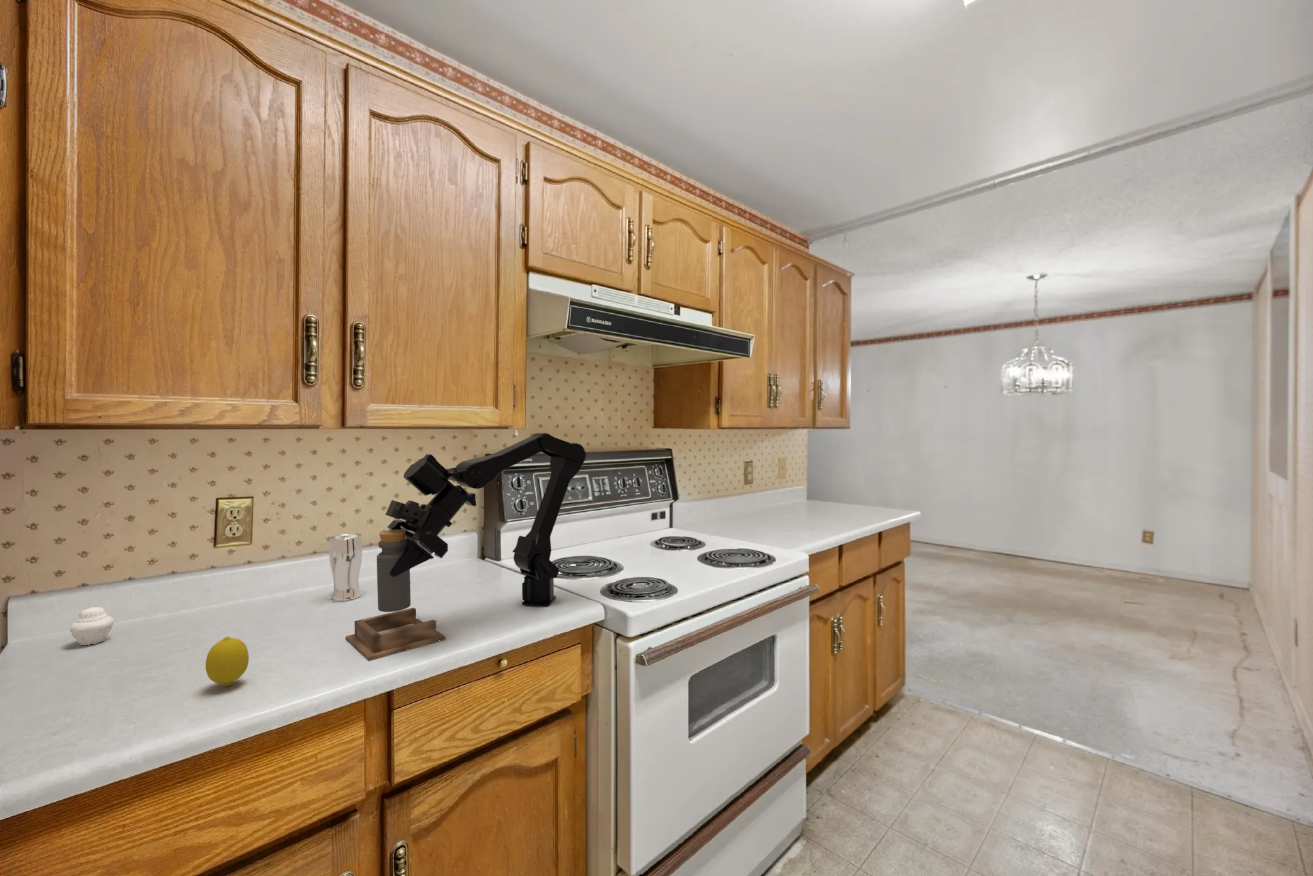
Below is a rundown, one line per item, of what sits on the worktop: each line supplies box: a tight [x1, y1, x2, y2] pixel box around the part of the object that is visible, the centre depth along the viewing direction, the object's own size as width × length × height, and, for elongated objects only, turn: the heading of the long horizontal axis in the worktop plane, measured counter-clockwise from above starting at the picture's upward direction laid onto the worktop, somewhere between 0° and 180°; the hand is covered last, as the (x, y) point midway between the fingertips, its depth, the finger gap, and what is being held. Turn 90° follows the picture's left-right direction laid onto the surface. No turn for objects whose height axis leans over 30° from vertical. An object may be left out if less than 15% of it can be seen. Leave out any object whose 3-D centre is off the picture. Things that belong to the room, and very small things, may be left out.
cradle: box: [345, 607, 447, 661], centre depth 109 cm, size 14×14×4 cm
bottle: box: [376, 529, 412, 613], centre depth 109 cm, size 6×6×15 cm
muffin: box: [68, 606, 115, 647], centre depth 108 cm, size 6×6×7 cm
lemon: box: [205, 636, 250, 687], centre depth 90 cm, size 6×6×8 cm
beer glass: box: [328, 533, 363, 602], centre depth 136 cm, size 7×7×15 cm
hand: (386, 572), depth 109 cm, fingers closed on bottle, 6 cm apart
